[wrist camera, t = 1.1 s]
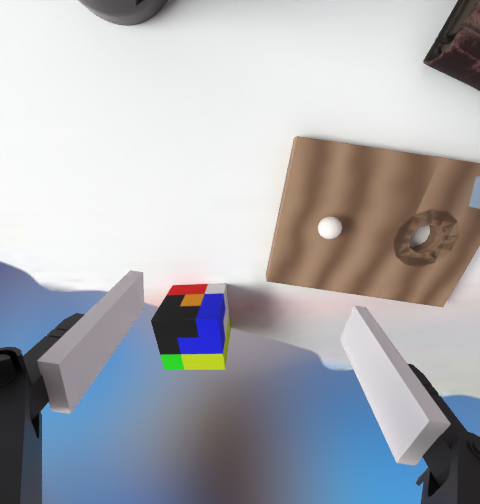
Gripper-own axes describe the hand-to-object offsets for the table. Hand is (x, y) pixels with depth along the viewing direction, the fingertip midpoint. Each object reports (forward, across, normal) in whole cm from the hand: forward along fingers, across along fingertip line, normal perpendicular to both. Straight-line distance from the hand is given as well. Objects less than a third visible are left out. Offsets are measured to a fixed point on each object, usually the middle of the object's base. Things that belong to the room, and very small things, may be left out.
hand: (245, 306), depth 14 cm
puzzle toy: (+25, -6, -20) cm, 32 cm away
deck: (+24, +18, +1) cm, 31 cm away
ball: (+20, +11, +1) cm, 23 cm away
